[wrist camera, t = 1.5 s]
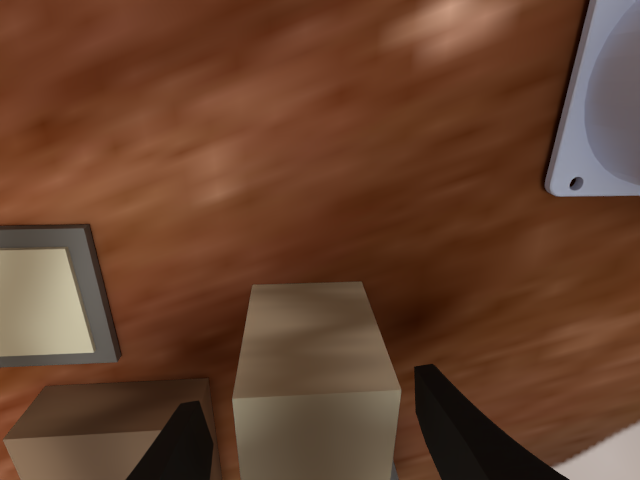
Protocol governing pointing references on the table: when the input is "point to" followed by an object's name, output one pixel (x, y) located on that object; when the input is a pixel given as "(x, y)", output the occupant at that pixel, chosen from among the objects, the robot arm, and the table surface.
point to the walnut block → (100, 428)
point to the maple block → (314, 386)
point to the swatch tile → (53, 298)
